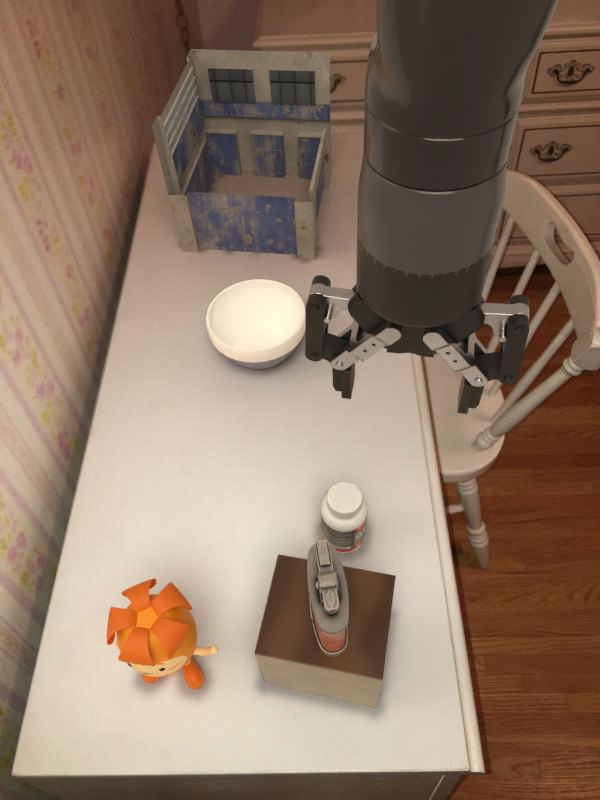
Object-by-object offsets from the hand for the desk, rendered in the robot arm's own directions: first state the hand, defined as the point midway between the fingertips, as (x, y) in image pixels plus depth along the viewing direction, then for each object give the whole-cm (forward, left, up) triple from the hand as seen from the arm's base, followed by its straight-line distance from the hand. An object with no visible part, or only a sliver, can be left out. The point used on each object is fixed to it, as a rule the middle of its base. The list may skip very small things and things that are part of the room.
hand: (404, 396), depth 48 cm
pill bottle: (+5, -4, -35) cm, 36 cm away
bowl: (+22, -32, -35) cm, 52 cm away
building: (+30, -64, -35) cm, 79 cm away
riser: (+4, +10, -35) cm, 37 cm away
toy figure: (+21, +14, -35) cm, 43 cm away
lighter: (+4, +10, -23) cm, 25 cm away
